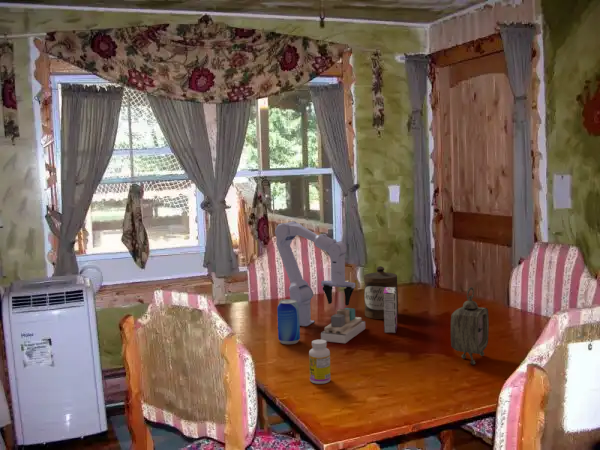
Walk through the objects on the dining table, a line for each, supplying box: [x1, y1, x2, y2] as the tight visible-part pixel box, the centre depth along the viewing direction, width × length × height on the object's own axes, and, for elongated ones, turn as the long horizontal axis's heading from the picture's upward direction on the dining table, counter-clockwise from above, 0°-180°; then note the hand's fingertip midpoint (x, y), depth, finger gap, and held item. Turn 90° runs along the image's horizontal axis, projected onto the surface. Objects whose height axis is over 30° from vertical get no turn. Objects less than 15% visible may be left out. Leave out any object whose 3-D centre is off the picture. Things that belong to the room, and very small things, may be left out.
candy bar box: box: [383, 287, 398, 334], centre depth 254 cm, size 11×5×16 cm, turn 168°
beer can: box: [276, 298, 301, 345], centre depth 241 cm, size 8×8×16 cm
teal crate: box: [344, 307, 356, 321], centre depth 253 cm, size 4×4×4 cm
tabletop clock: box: [450, 287, 490, 366], centre depth 213 cm, size 14×9×25 cm, turn 148°
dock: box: [320, 320, 366, 344], centre depth 249 cm, size 10×22×3 cm, turn 154°
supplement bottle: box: [308, 339, 332, 385], centre depth 197 cm, size 7×7×13 cm
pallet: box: [324, 308, 362, 334], centre depth 249 cm, size 8×19×7 cm, turn 154°
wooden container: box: [363, 266, 399, 320], centre depth 277 cm, size 15×15×22 cm
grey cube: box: [330, 313, 345, 327], centre depth 244 cm, size 4×4×4 cm
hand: (338, 304), depth 257 cm, fingers open, 7 cm apart
